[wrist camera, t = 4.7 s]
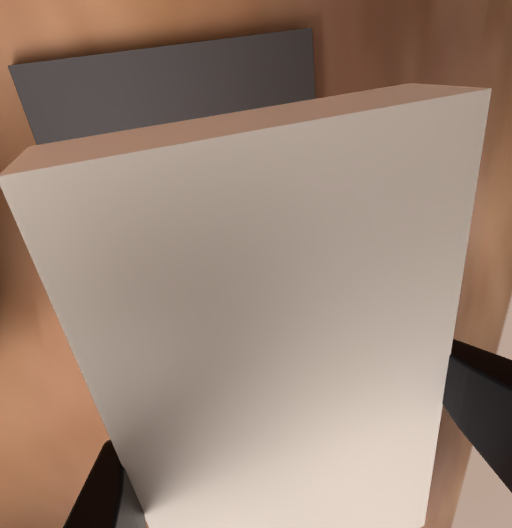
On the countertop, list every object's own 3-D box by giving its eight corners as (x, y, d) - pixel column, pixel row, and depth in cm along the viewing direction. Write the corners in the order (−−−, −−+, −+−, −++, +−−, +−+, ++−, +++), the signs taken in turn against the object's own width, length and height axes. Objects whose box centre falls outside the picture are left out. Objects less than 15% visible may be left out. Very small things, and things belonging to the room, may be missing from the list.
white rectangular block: (385, 467, 14) (424, 525, 12) (181, 547, 12) (192, 627, 10) (409, 83, 8) (491, 88, 6) (28, 147, 6) (-5, 177, 5)
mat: (321, 346, 22) (325, 352, 21) (135, 404, 20) (136, 412, 19) (306, 28, 15) (312, 27, 14) (11, 65, 12) (7, 65, 12)
